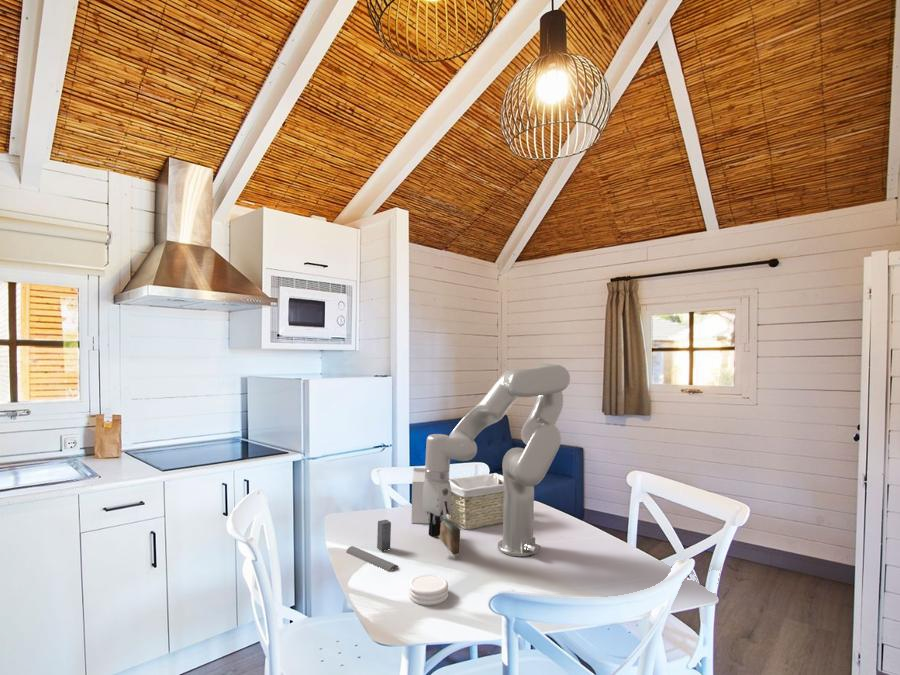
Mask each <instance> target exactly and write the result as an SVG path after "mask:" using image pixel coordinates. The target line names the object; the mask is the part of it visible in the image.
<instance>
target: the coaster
mask: <svg viewBox="0 0 900 675" xmlns="http://www.w3.org/2000/svg"><path fill="white" fill-rule="evenodd" d="M408 584H409V585H408V587H409V588H408V597H409V599H410V600H411V601H412V602H413V603H414V604H418V605H419V606H420V605H421V606H436V605H440V604H441V603H444V602H446V600H447V599H448V597H449V593H448V592H449V582H448V581H447V580H446V579H445V578H444V577H442V576H439V575H435V574H420V575H418V576H414V577H413V578H412V579H410V581H409V583H408Z"/></svg>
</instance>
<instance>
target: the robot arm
mask: <svg viewBox="0 0 900 675" xmlns="http://www.w3.org/2000/svg"><path fill="white" fill-rule="evenodd" d="M570 382H571V376H570V372H569V370H568V369H566V367H564V366H562V365H560V364H553V363H541V364H538V365H537V366H536V367H535V368H526V369H523V368H522V369H519V368H508V369H506V371H504V372H503V373H502V374H501V375H500V376H499V377H498V379H497V380H496V381H495V383H494V384H493V386H491V388H490V389H489V391H488V392H486V394H485V395H484V397H483V398H482V399H481V400H480V402H479V403H477V405H475V406H474V407H473V408H472V409H471V410H470V411H469V412H468V413H466V415H465V416H463V418H461V419H460V421H459V422H458V424H456V426H455V427H454V429H453V430H452V431H451V432H450V434H449V435H448V434H443V433H433V434H429V435H428V436H427V437H426V445H425V446H426V448H425V461H424V462H425V463H424V464H425V466H424V468H425V481H424V487H423V496H422V506H423V508H424V510H425V512H426V513H427V514H428V521H429V524H428V536H429V537H431V538H433V537H435V536H439V535H440V526H441V523H442V521H445V520H447V517H448V516H447V514H451V486H450V482H449V478H450V470H451V466H450V464H451V460H453V461H454V460H455V461H461V462H462V461H463V462H467V461H470V460H472V459H473V458H475V457H476V455H477V454H478V446H477V443H476V442H475V439H476V437H477V436H478V435H479V434H480V433H481V432H482V431H483V430H484V429H485V428H487V427H489V426H491V425H493V424H496V423H498V422H499V421H501V420H502V419H503V418H504V417H505V415H506V414H507V413H508V411H509V410H510V409H511V407H512V406H513V405H514V404H515V402H516V401H517V400H518V398H533V397H536V401H535V403H534V406H533V407H532V409H531V411H530V414H529V416H528V417H527V419H526V421H525V422H524V424H523V425H522V428H521V430H520V431H521V432H520V437H521V438H520V439H521V440H522V442H523V443H524V444H525V447H524V448H522V447H512V448H510V449H509V450H507V451H506V453H505V454H504V456H503V458H502V466H501V467H502V476H503V479H504V506H503V523H502V539H501V540H500V541H498V542H497V549H498V551H500V552H501V553H502V554H505V555H508V556H511V557H529V555H531V556H533V554H534V555H536V554H538V552H539V550H540V549H541V545H540V544H538V543H536V537H535V536H534V514H535V513H534V511H535V510H534V506H535V505H534V503H535V502H534V500H535V486H536V485H538V484H540V483H541V482H542V480H543V479H544V478H545V476H546V474H547V472H548V471H549V469H550V467H551V465H552V463H553V461H554V459H555V457H556V455H557V453H558V451H559V450H560V449H559V448H560V446H561V440H562V439H561V433H560V430H559V429H558V427H557V426H556V424H557V421H558V419H559V417H560V415H561V412H562V409H563V406H564V394H563V391H566V389H567V388H568V387H569V385H570Z"/></svg>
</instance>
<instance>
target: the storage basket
mask: <svg viewBox="0 0 900 675" xmlns="http://www.w3.org/2000/svg"><path fill="white" fill-rule="evenodd" d="M449 482H450V486H451V514H446V516H447V517H448V518H449V519H450V520H451V521H452V522H453V523H454V524H455V525H456V526H457V527H458V526H459V528H462V529H464V530H473V529H476V528H477V529H479V528H483V527H484V528H485V527H487V526H495V525H499V524H503V506H504V479H503V474H499V473H497V472H494V473H487V474H486V473H484V474H478V475H471V476H458V477H449Z"/></svg>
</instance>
